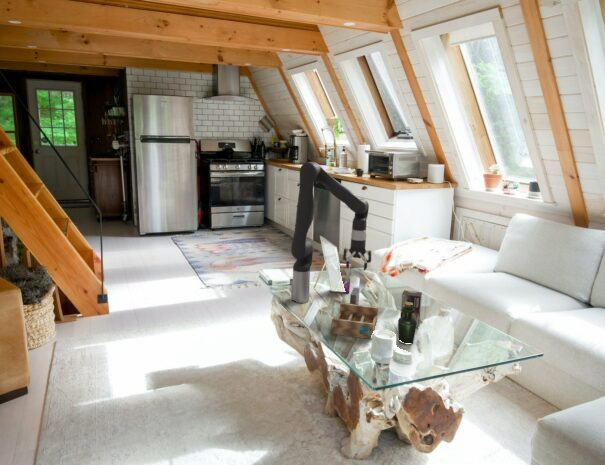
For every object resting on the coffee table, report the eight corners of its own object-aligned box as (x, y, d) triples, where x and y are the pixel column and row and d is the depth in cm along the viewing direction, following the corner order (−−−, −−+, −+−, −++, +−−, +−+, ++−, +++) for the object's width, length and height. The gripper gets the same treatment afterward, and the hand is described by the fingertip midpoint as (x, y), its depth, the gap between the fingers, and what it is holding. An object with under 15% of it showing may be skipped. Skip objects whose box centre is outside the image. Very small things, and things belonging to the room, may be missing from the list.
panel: (349, 313, 247) (350, 294, 245) (352, 305, 259) (353, 287, 256) (355, 314, 246) (356, 295, 244) (358, 306, 258) (359, 288, 256)
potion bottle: (408, 347, 210) (412, 308, 206) (392, 341, 215) (395, 303, 212) (418, 341, 216) (421, 303, 212) (402, 336, 221) (405, 299, 217)
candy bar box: (330, 292, 278) (331, 264, 275) (330, 289, 283) (331, 262, 280) (349, 293, 277) (351, 266, 274) (349, 290, 282) (351, 263, 279)
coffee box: (419, 323, 237) (422, 292, 233) (418, 328, 231) (421, 296, 227) (401, 320, 240) (403, 289, 236) (399, 325, 234) (401, 293, 230)
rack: (331, 333, 221) (332, 319, 219) (340, 316, 243) (340, 303, 241) (372, 339, 216) (373, 324, 215) (377, 320, 238) (378, 307, 237)
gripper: (343, 238, 243) (341, 269, 246) (371, 241, 240) (369, 272, 243) (345, 235, 250) (343, 265, 253) (373, 238, 247) (371, 268, 250)
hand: (356, 268), depth 248 cm, fingers open, 8 cm apart
